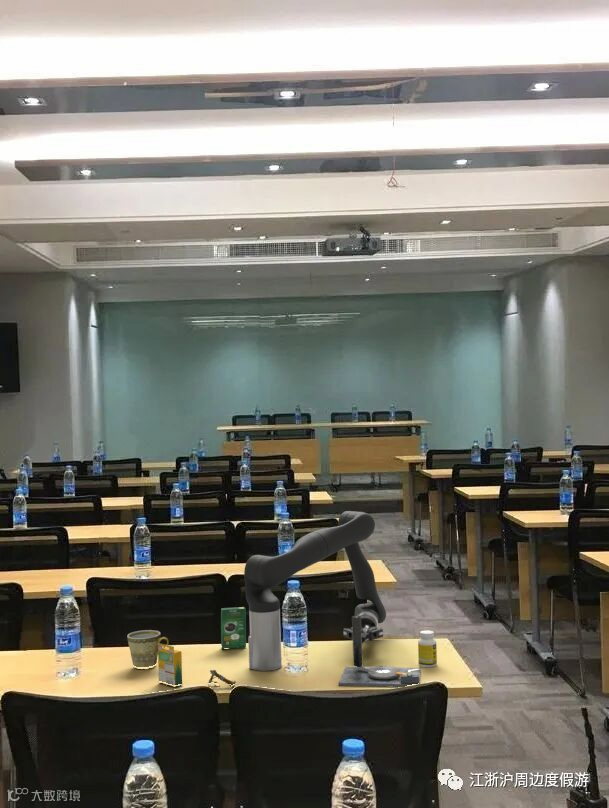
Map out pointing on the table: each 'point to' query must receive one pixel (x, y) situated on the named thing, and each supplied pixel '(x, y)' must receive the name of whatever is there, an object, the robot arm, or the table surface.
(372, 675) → the upright bar with disc
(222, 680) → the wooden post with brackets
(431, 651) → the supplement bottle
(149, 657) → the ceramic cup
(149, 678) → the table surface
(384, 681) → the base plate
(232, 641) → the coffee box
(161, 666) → the crayon box
